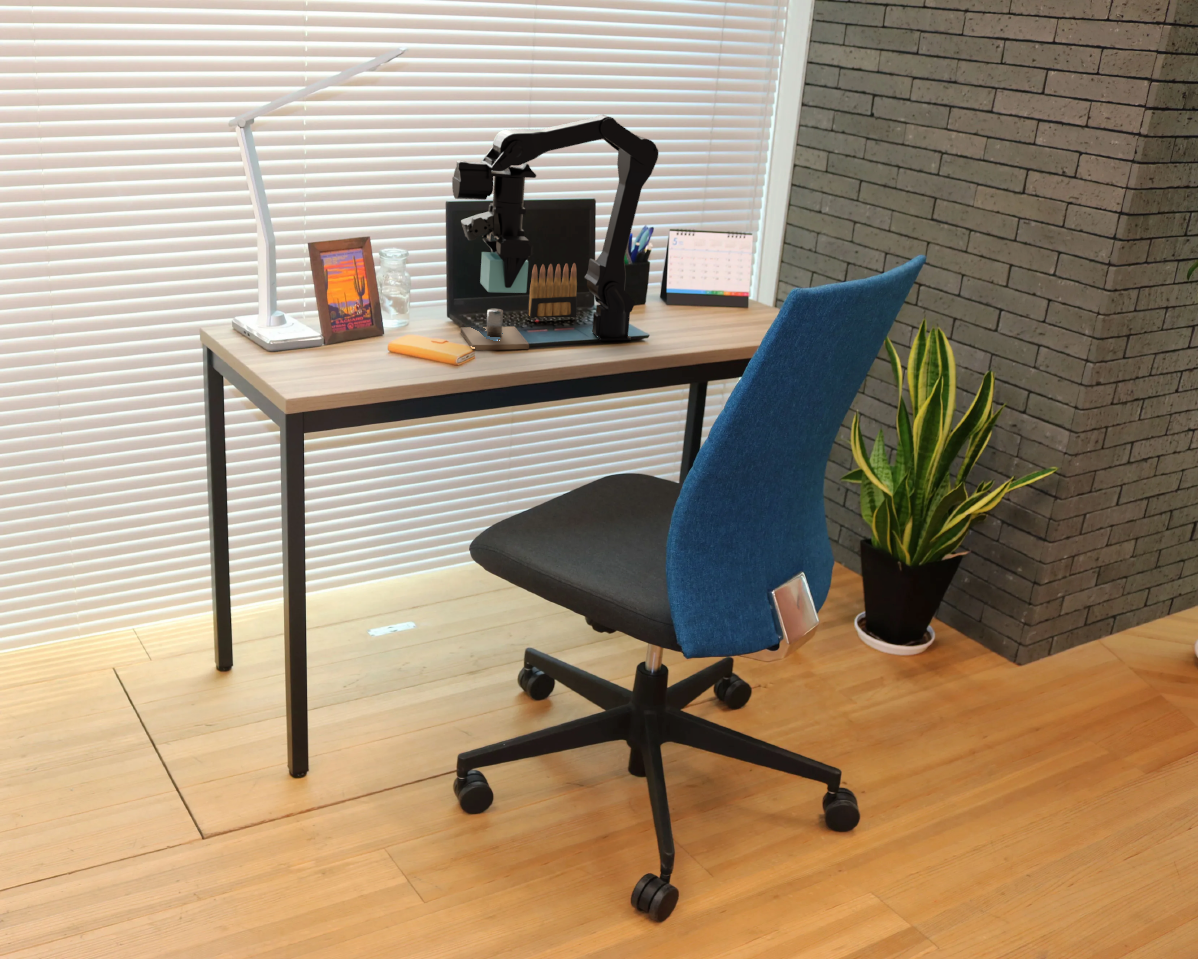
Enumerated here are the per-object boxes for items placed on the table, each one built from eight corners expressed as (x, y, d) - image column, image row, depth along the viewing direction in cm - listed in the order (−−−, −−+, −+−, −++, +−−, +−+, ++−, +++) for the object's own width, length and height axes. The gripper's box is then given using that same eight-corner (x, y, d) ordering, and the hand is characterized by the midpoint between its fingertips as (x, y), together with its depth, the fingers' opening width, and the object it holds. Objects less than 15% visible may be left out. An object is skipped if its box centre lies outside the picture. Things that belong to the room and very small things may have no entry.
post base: (514, 331, 232) (515, 302, 230) (528, 348, 221) (530, 318, 219) (460, 332, 229) (461, 302, 226) (472, 350, 218) (473, 319, 216)
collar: (517, 283, 226) (519, 253, 223) (526, 292, 219) (528, 261, 217) (480, 282, 223) (481, 252, 221) (488, 292, 217) (490, 260, 215)
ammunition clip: (529, 322, 239) (532, 265, 234) (526, 320, 240) (529, 263, 236) (576, 320, 243) (580, 263, 239) (573, 317, 245) (576, 261, 240)
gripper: (456, 190, 221) (452, 270, 227) (476, 208, 204) (471, 294, 210) (512, 192, 224) (507, 271, 230) (536, 210, 208) (530, 295, 214)
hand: (503, 282), depth 221 cm, fingers closed on collar, 7 cm apart
